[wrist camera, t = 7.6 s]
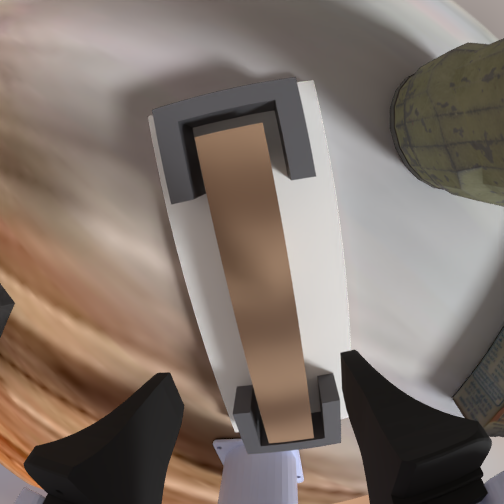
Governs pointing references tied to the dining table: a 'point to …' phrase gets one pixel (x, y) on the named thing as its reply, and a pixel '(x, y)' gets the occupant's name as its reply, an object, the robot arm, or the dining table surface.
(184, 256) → the end cap cradle
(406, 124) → the olive stone pillar
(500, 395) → the dark grey stone block
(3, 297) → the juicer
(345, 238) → the dining table surface
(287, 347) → the walnut slat
